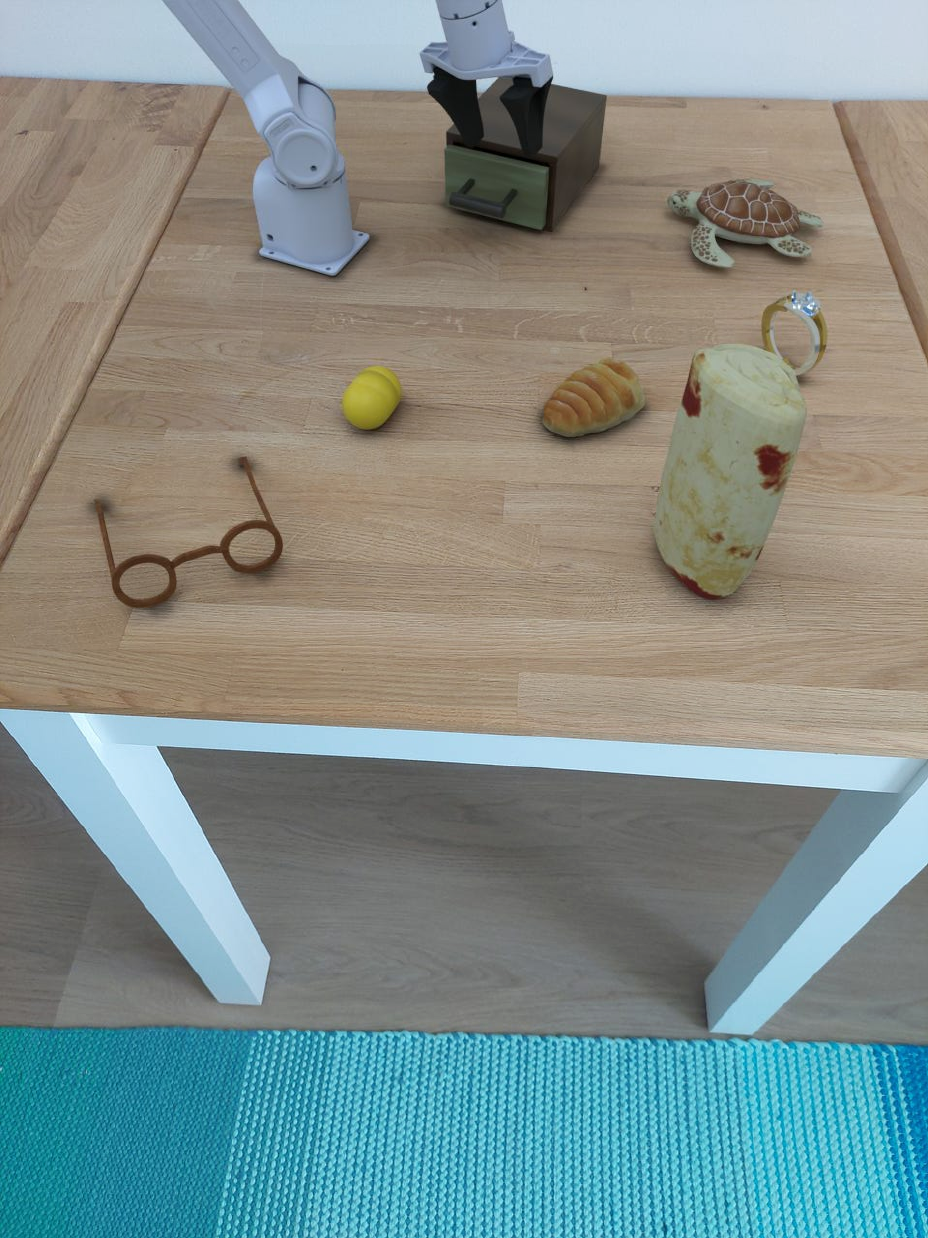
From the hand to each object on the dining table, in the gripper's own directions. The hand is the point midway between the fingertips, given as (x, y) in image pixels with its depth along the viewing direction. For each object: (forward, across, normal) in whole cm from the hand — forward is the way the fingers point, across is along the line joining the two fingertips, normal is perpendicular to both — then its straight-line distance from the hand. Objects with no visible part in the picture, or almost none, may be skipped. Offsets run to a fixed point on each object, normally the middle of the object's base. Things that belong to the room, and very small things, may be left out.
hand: (504, 146), depth 94 cm
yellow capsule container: (+6, -7, +32) cm, 33 cm away
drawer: (+9, +5, -4) cm, 11 cm away
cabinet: (+11, +6, -8) cm, 15 cm away
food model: (+12, -39, +29) cm, 50 cm away
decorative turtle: (+16, -17, -14) cm, 28 cm away
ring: (+16, -32, +4) cm, 36 cm away
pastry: (+11, -22, +19) cm, 31 cm away
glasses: (+2, -5, +51) cm, 52 cm away
